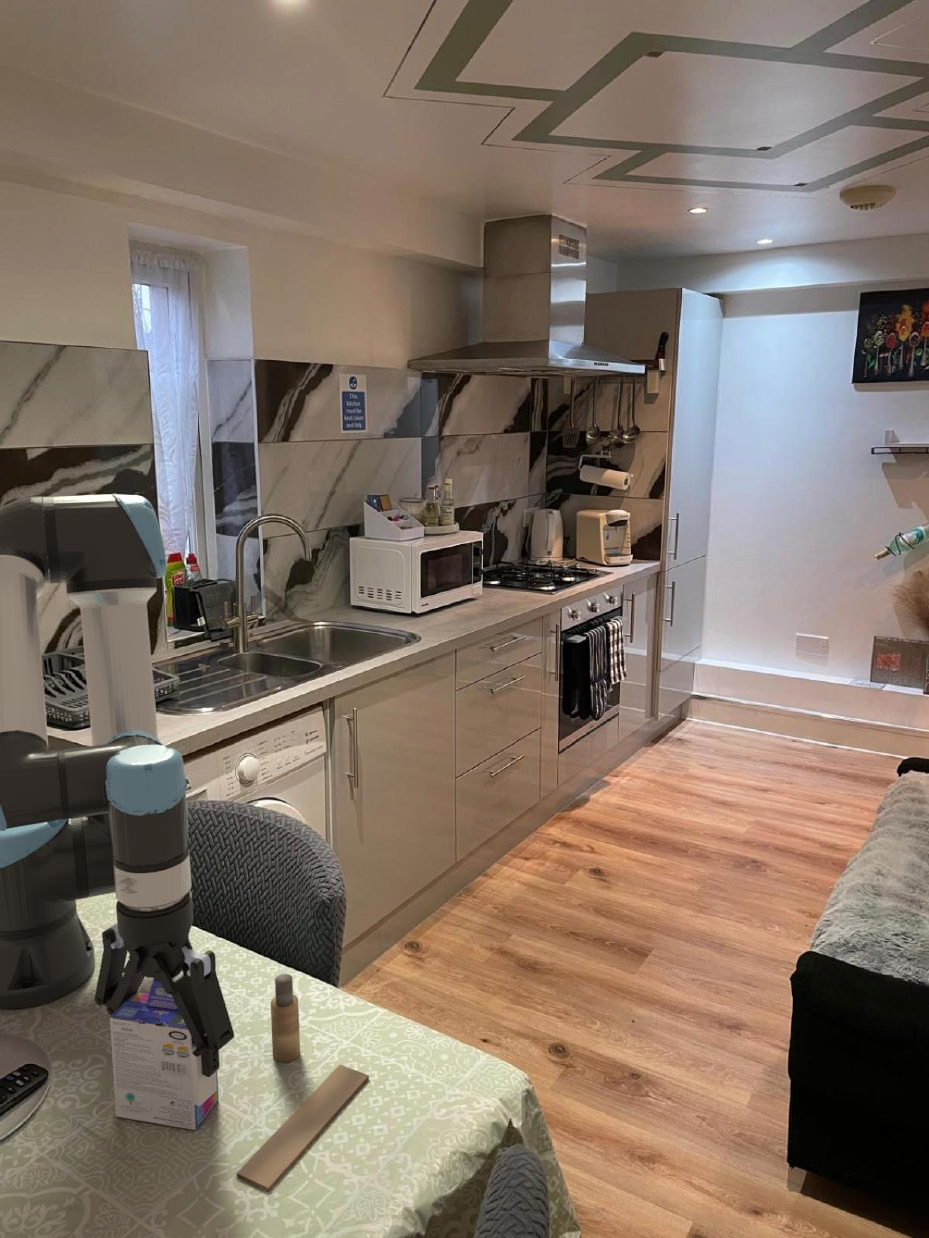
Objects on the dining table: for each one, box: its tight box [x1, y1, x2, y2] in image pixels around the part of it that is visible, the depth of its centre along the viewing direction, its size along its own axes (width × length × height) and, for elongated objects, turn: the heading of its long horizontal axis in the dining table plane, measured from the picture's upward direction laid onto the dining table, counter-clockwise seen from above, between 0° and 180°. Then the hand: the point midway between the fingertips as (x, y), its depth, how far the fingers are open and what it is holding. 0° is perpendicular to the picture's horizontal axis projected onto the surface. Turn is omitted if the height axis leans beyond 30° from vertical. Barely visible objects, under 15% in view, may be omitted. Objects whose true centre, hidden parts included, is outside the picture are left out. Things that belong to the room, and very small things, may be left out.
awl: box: [270, 973, 301, 1064], centre depth 109 cm, size 3×3×10 cm
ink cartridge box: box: [109, 978, 220, 1131], centre depth 100 cm, size 10×6×14 cm, turn 78°
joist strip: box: [236, 1064, 370, 1192], centre depth 99 cm, size 4×18×1 cm, turn 153°
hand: (166, 1080), depth 101 cm, fingers closed on ink cartridge box, 10 cm apart
